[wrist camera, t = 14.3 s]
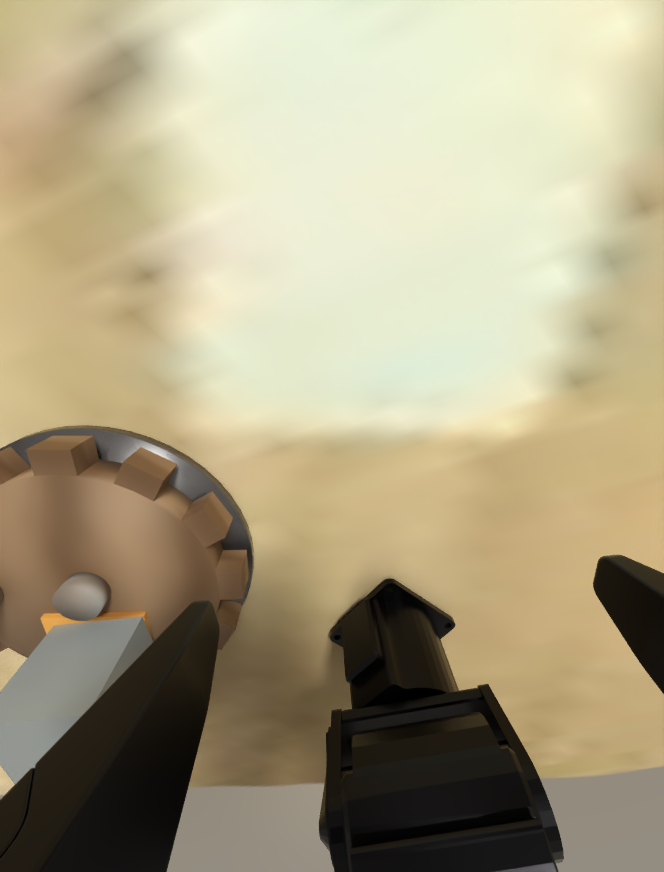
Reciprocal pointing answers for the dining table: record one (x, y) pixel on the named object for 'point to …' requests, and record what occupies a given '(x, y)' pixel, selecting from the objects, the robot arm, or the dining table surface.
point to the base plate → (184, 478)
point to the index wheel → (107, 544)
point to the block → (63, 685)
